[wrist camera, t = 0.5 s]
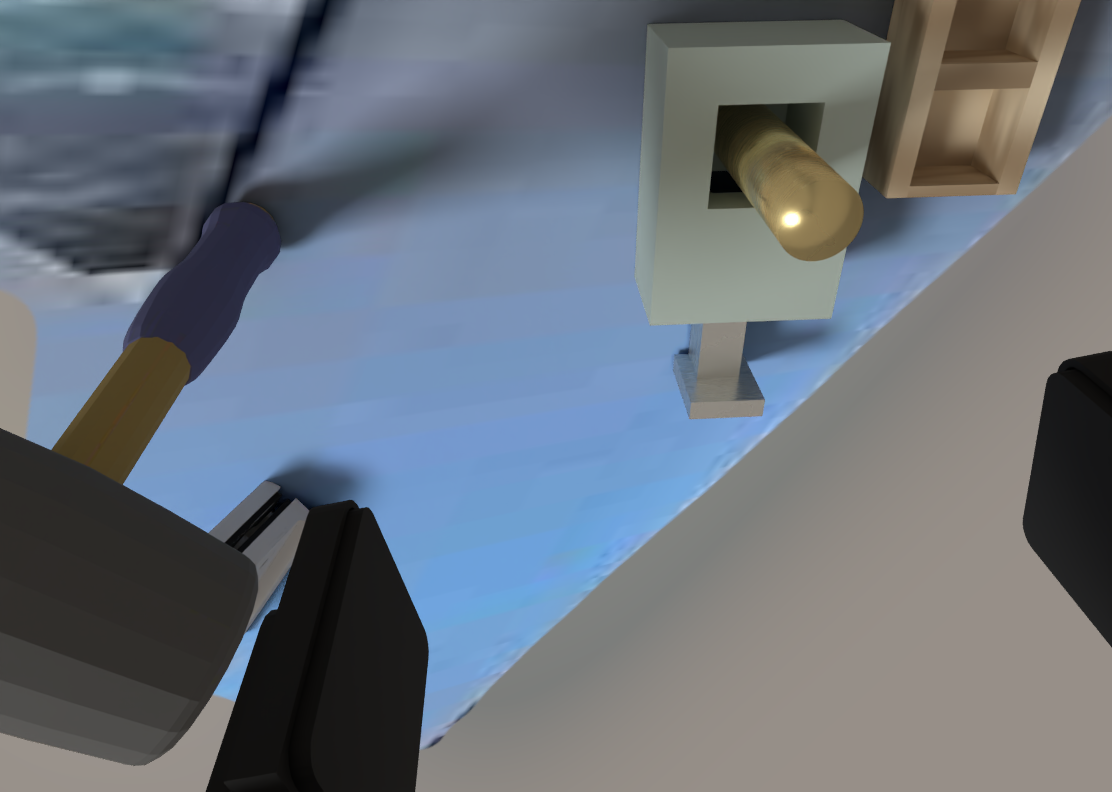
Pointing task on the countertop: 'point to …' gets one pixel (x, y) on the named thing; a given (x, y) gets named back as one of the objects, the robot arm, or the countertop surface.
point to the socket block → (688, 159)
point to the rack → (964, 94)
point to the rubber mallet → (126, 535)
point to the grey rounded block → (264, 536)
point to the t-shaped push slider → (717, 373)
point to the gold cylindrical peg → (787, 182)
